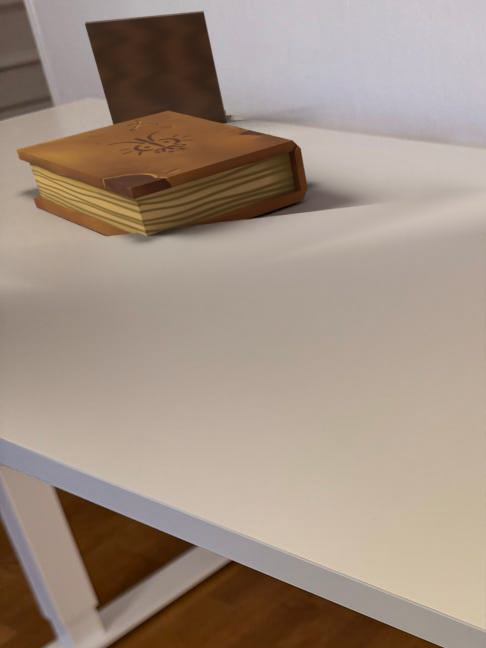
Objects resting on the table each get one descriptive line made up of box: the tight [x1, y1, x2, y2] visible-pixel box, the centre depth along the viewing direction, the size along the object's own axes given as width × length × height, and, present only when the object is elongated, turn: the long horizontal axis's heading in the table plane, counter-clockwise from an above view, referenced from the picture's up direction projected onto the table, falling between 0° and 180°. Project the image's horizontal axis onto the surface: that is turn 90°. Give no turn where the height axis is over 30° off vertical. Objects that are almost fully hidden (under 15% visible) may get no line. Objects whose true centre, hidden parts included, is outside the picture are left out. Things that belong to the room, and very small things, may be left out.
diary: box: [15, 111, 308, 237], centre depth 96 cm, size 23×19×6 cm
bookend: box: [84, 10, 227, 125], centre depth 118 cm, size 14×4×12 cm, turn 102°
